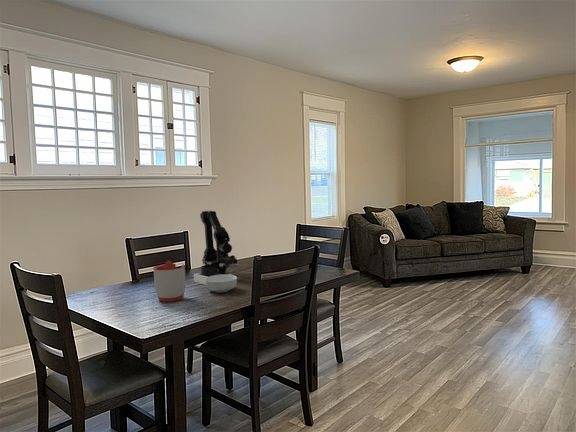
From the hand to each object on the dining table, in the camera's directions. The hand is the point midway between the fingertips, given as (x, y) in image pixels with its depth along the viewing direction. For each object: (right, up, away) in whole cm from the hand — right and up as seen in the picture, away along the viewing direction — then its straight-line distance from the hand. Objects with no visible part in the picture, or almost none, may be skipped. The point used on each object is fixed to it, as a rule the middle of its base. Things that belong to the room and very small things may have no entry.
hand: (223, 277), depth 269 cm
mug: (-6, -2, -5) cm, 8 cm away
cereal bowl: (+3, -4, -27) cm, 27 cm away
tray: (-5, -2, -4) cm, 6 cm away
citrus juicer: (-20, -6, -40) cm, 45 cm away
